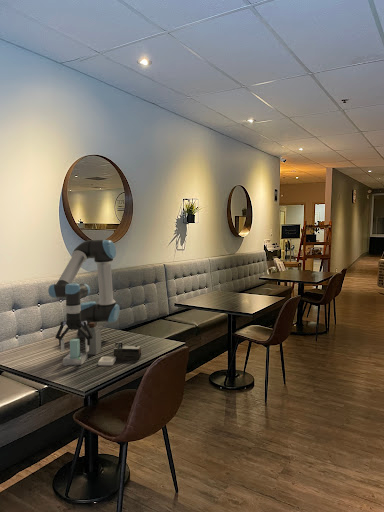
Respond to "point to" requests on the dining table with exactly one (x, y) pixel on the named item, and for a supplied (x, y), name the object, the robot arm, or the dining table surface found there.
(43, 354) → the dining table surface
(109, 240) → the robot arm
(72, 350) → the plug
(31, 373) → the dining table surface
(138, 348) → the camera
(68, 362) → the block
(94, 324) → the perfume bottle
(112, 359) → the holster
